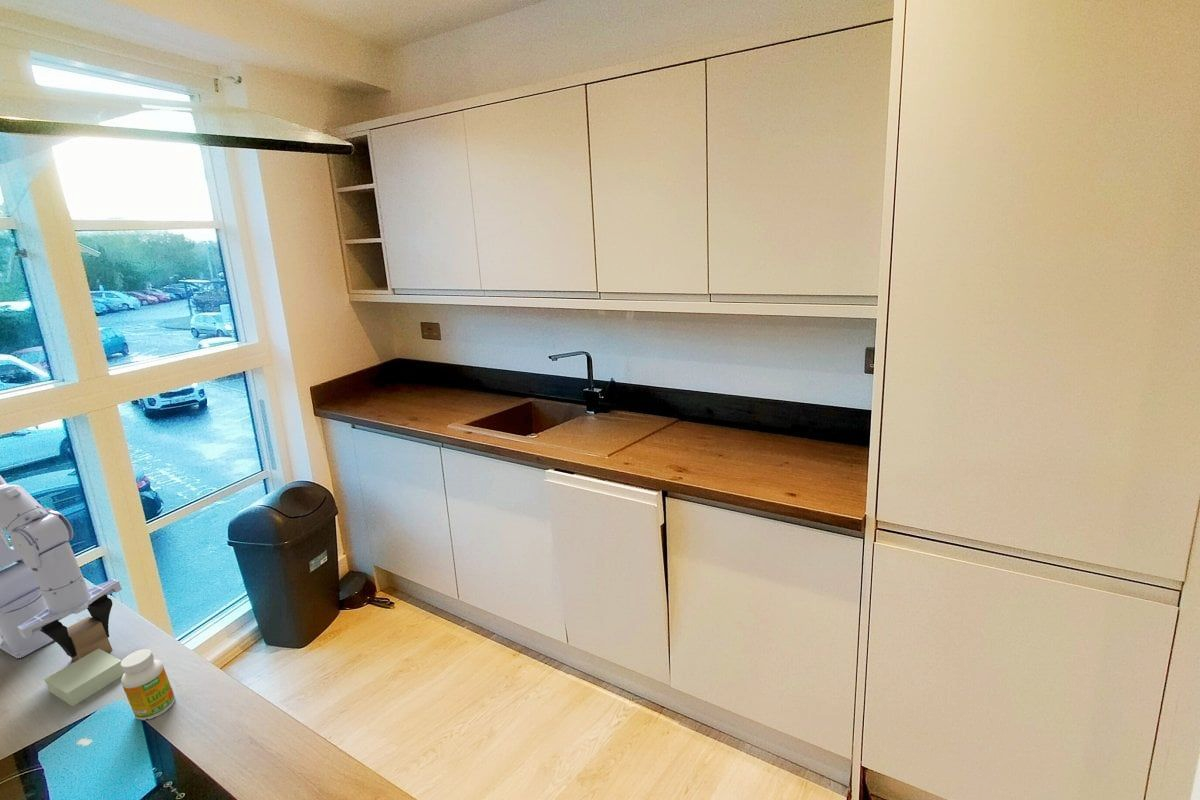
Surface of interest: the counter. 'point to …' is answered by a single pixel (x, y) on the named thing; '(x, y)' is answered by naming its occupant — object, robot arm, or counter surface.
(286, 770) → the counter surface
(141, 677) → the supplement bottle
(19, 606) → the robot arm
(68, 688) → the sage block
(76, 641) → the walnut block
